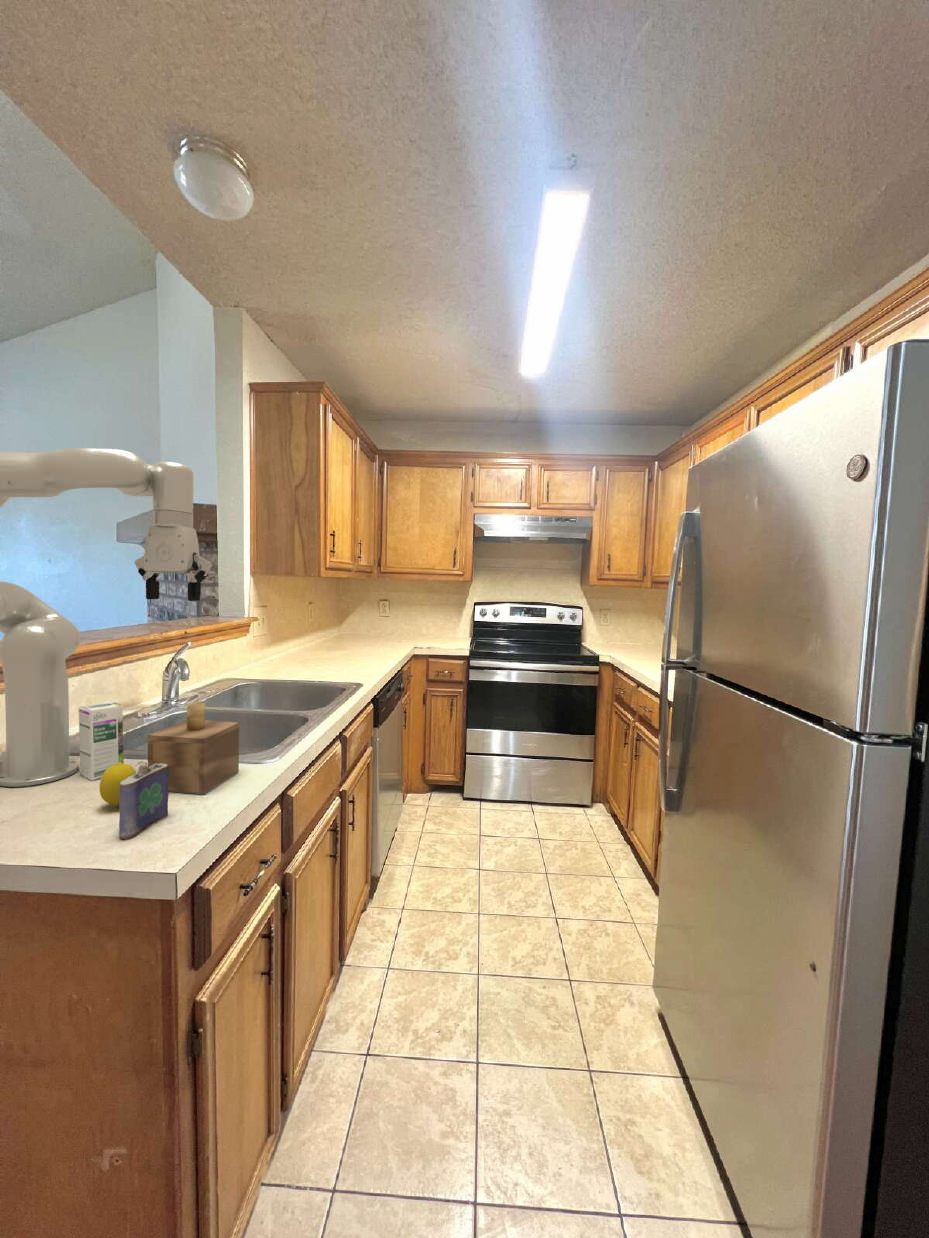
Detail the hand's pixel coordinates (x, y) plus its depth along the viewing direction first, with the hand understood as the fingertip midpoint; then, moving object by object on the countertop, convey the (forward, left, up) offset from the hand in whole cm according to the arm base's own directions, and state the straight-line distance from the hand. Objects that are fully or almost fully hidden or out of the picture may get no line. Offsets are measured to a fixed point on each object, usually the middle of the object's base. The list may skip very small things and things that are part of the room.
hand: (173, 599), depth 105 cm
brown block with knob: (+12, -9, -36) cm, 39 cm away
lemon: (+6, -22, -36) cm, 43 cm away
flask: (+15, -27, -36) cm, 48 cm away
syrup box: (-9, -9, -36) cm, 39 cm away
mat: (+12, -9, -36) cm, 39 cm away
